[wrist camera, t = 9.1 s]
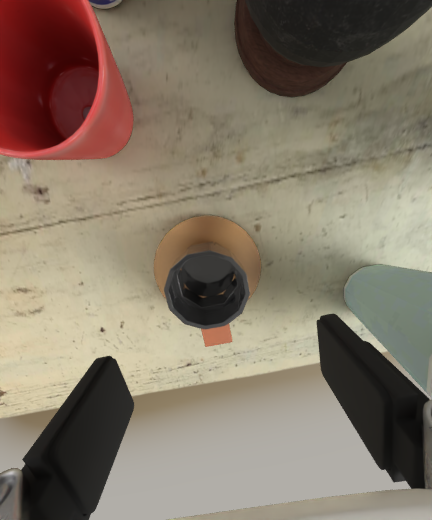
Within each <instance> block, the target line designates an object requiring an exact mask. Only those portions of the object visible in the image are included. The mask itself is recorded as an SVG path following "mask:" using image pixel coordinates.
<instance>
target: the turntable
mask: <svg viewBox="0 0 432 520" xmlns="http://www.w3.org/2000/svg"><path fill="white" fill-rule="evenodd" d="M212 241H213V243H215V242H217V243H218V244H220V245H221V246H223V247H224V248H226V249H229V250H230V251H231V252H232V253H233V254H234V255H235V256H236V258H237V259H238V260H239V261H240V263H241V264H242V266H243V268H244V270H245V272H246V274H247V279H248V285H249V292H250V295H249V298H250V297H251V296H252V294H253V293H254V291H255V289H256V287H257V285H258V282H259V278H260V273H261V260H260V255H259V252H258V249H257V247H256V245H255V243H254V241H253V240H252V238H251V237H250V236H249V234H248V233H247V232H246V231H245V230H244V229H243V228H241V227H240V226H239V225H237V224H236V223H234V222H233V221H230V220H228V219H226V218H223V217H219V216H213V215H203V216H196V217H192V218H189V219H187V220H184V221H183V222H181V223H179V224H177V225H176V226H175V227H174V228H172V229H171V230H170V231H169V232H168V233H167V234H166V235H165V237H164V238H163V239H162V241H161V242H160V244H159V246H158V249H157V251H156V255H155V259H154V274H155V279H156V282H157V285H158V287H159V289H160V291H161V293H162V294H163V296H164V297H165V298H166V296H165V293H164V287H165V284H166V280H167V277H168V274H169V270H170V268H171V267H172V265H173V263H174V261H175V260H176V259H177V258H178V257H179V256H180V255H181V254H183V253H184V252H185V251H186V249H187V248H188V247H190V246H191V245H196V244H202V243H207V242H212ZM234 278H235V276H234V277H233V280H234ZM184 285H185V284H184ZM185 288H187V287H186V285H185ZM187 289H188V288H187ZM224 292H225V291H224ZM224 292H222V293H221V294H223V293H224ZM218 295H220V294H218ZM199 296H200V295H199ZM201 297H202V298H204V297H205V296H201ZM249 298H248V299H249ZM247 301H248V300H247Z"/></svg>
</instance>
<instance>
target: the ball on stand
mask: <svg viewBox="0 0 432 520" xmlns="http://www.w3.org/2000/svg"><path fill="white" fill-rule="evenodd" d="M431 7H432V0H237V3H236V12H235V38H236V42H237V47H238V51H239V54H240V57H241V59H242V61H243V64H244V66H245V67H246V69H247V71H248V72H249V74H250V75H251V77H252V78H253V79H254V80H255V81H256V82H257V83H258V84H259V85H260V86H262V87H263V88H265V89H266V90H268V91H269V92H272V93H275V94H277V95H280V96H287V97H296V96H304V95H306V94H309V93H312V92H315V91H316V90H318V89H320V88H321V87H323V86H325V85H326V84H327V83H328V82H329V81H330V80H332V79H333V78H334V77H335V76H336V75H337V74H338V73H339V72H340V71H341V69H342V68H343V67H344V66H345V64H346V63H347V62H349V61H352V60H355V59H357V58H360V57H363V56H365V55H368V54H370V53H371V52H373V51H375V50H376V49H378V48H380V47H381V46H383V45H385V44H386V43H388V42H389V41H391V40H392V39H394V38H395V37H396V36H398V35H399V34H401V33H402V32H403V31H405V30H406V29H407V28H408V27H410V26H411V25H412V24H413V23H414V22H415V21H416V20H418V19H419V18H420V17H421V16H422V15H423V14H424V13H426V12H427V11H428V10H429V9H430V8H431Z"/></svg>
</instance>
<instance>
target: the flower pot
mask: <svg viewBox="0 0 432 520" xmlns="http://www.w3.org/2000/svg"><path fill="white" fill-rule="evenodd" d="M132 129H133V110H132V106H131V102H130V99H129V96H128V94H127V91H126V88H125V85H124V83H123V80H122V77H121V75H120V72H119V70H118V67H117V65H116V63H115V60H114V58H113V55H112V53H111V50H110V48H109V46H108V43H107V41H106V38H105V36H104V33H103V31H102V28H101V26H100V24H99V22H98V19H97V17H96V15H95V12H94V10H93V8H92V6H91V4H90V2H89V0H0V154H1V155H5V156H9V157H14V158H21V159H36V160H79V159H101V158H107V157H110V156H113V155H115V154H116V153H118V152H119V151H120V150H121V149H123V147H124V146H125V145H126V144H127V142H128V140H129V138H130V136H131V133H132Z"/></svg>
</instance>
